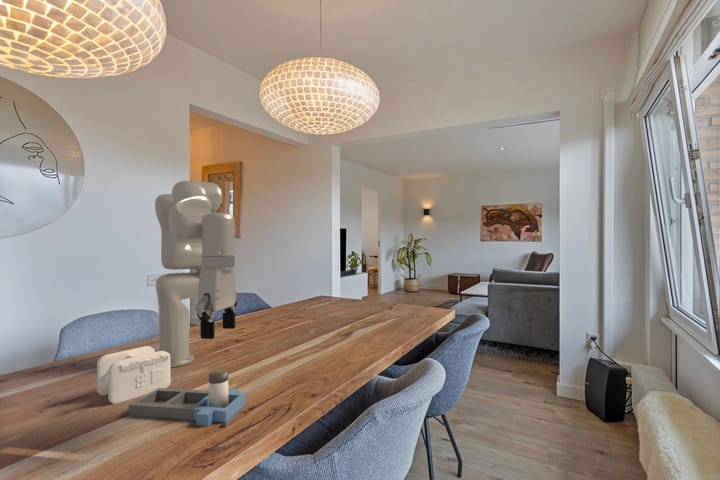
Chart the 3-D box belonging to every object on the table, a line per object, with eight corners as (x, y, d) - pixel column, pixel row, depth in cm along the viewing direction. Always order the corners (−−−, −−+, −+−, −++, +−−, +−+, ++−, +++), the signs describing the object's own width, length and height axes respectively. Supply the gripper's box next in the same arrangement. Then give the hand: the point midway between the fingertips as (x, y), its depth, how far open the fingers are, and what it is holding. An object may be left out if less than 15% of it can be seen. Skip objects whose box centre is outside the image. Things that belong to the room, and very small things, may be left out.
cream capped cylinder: (205, 414, 85) (204, 376, 85) (215, 406, 89) (215, 370, 89) (222, 415, 84) (222, 377, 84) (232, 407, 88) (231, 370, 89)
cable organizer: (155, 381, 108) (155, 343, 108) (171, 390, 102) (171, 349, 102) (96, 399, 96) (96, 356, 96) (110, 410, 90) (110, 364, 90)
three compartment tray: (121, 423, 83) (121, 408, 83) (163, 397, 97) (163, 384, 97) (221, 431, 79) (221, 415, 79) (249, 403, 93) (249, 389, 93)
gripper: (223, 261, 96) (223, 324, 96) (181, 265, 79) (182, 342, 79) (249, 261, 95) (249, 325, 95) (212, 265, 78) (213, 344, 78)
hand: (218, 333), depth 87 cm, fingers open, 9 cm apart
